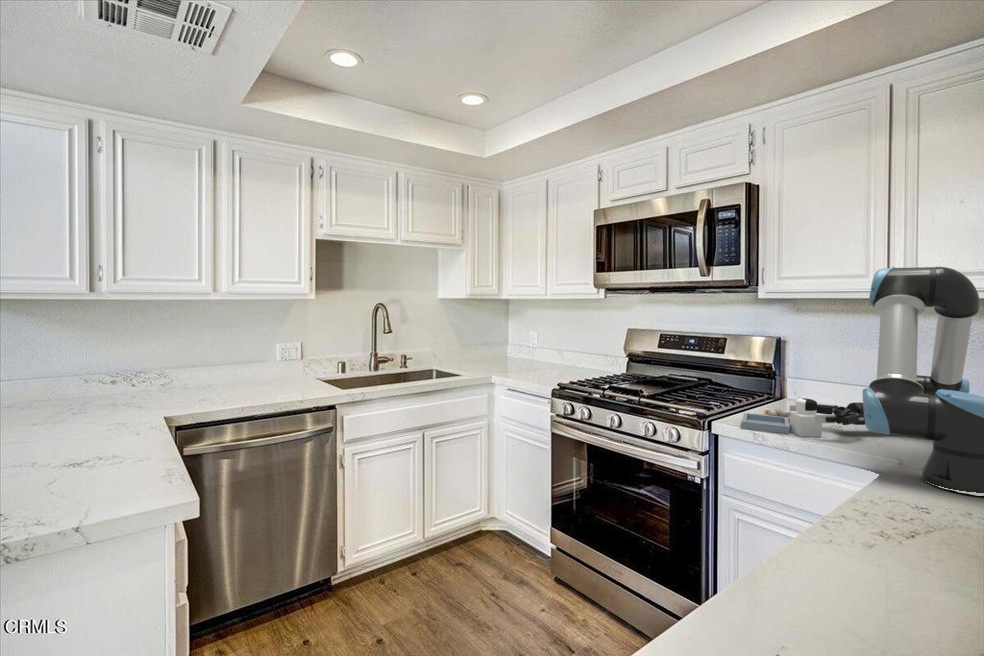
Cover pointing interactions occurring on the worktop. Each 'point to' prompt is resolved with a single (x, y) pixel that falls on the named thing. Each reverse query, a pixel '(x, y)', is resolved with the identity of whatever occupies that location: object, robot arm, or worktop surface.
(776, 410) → the pebble
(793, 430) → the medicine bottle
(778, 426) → the grey bin
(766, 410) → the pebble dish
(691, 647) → the worktop surface
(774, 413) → the pebble
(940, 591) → the worktop surface
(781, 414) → the pebble
